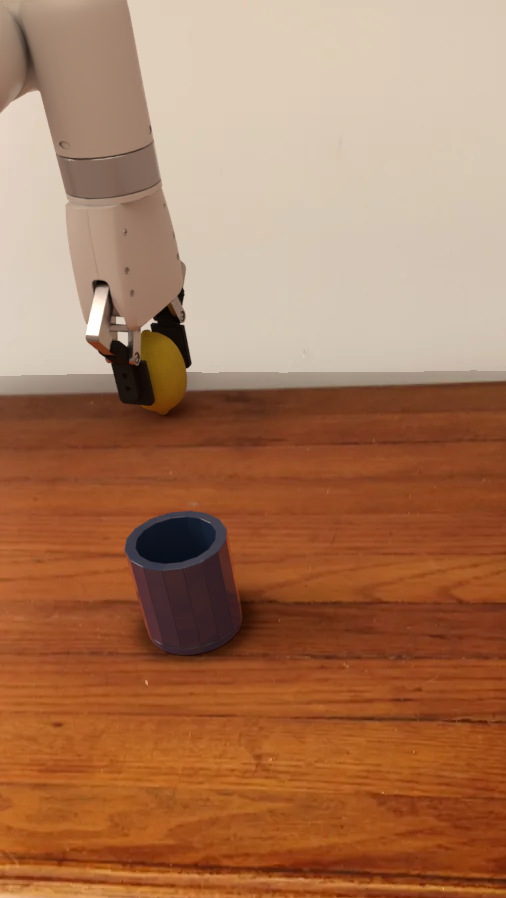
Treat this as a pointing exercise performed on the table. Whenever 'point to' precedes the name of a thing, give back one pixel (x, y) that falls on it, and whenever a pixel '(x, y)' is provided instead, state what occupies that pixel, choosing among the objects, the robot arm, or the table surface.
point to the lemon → (163, 370)
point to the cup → (185, 581)
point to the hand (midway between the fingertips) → (157, 382)
